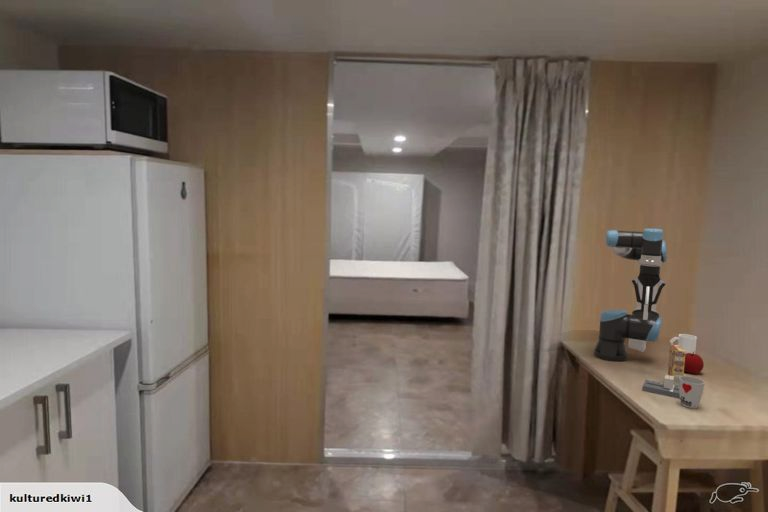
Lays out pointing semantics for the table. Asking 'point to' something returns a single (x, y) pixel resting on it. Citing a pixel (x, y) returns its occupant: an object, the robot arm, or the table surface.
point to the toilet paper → (637, 344)
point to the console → (660, 389)
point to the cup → (690, 391)
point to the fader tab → (668, 382)
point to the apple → (693, 363)
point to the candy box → (676, 363)
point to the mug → (686, 342)
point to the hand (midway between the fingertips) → (645, 319)
